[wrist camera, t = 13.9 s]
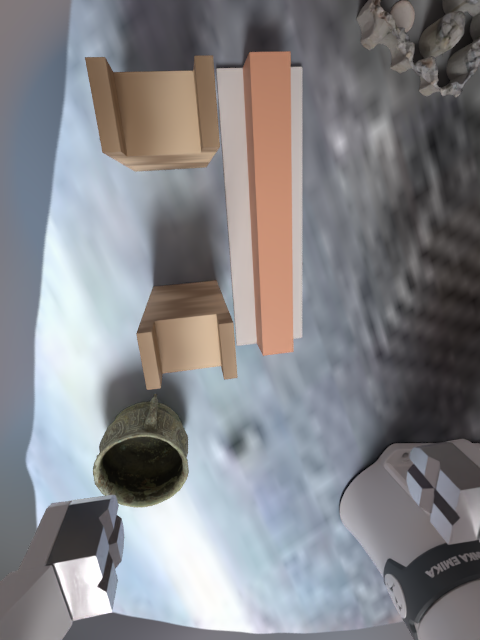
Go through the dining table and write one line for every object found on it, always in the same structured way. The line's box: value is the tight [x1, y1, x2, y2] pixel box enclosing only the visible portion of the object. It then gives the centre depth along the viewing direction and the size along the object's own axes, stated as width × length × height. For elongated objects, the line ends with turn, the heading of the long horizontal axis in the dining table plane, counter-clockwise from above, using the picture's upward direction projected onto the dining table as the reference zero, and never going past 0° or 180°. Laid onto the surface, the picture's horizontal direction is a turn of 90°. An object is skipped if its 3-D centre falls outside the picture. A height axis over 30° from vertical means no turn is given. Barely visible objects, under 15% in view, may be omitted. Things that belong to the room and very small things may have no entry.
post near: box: [85, 56, 220, 171], centre depth 22 cm, size 6×4×12 cm, turn 93°
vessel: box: [93, 394, 189, 507], centre depth 34 cm, size 12×9×6 cm
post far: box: [136, 280, 237, 390], centre depth 27 cm, size 6×4×12 cm, turn 94°
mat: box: [216, 67, 302, 346], centre depth 31 cm, size 7×24×1 cm, turn 3°
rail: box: [243, 52, 293, 356], centre depth 29 cm, size 3×24×3 cm, turn 3°
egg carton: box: [357, 0, 480, 97], centre depth 26 cm, size 11×8×4 cm
